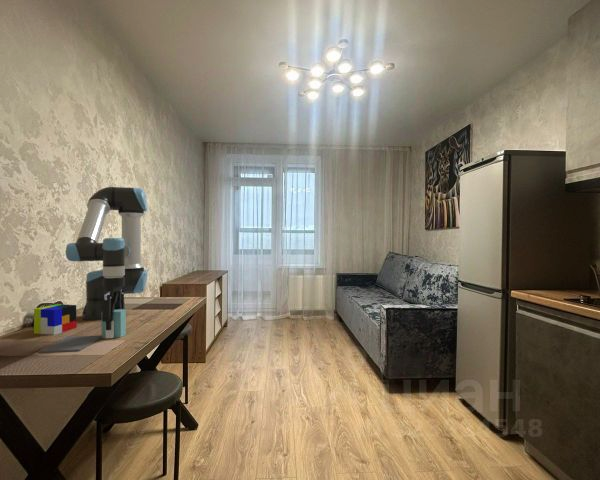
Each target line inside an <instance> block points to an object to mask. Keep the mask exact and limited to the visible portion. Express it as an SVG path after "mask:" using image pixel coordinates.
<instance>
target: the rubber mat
mask: <svg viewBox="0 0 600 480" xmlns="http://www.w3.org/2000/svg"><path fill="white" fill-rule="evenodd" d="M101 339H103V338H102V334H100V335H79V336H78V335H76V336H75V335H74V336H66V337H64V338H62V339H59V340H58V341H56V342H54V343H52V344H49V345H48V346H46V347H45V346H44V347H43V348H41V349H40V350H38V352H37V353H39V354H41V353H42V354H43V353H62V352H63V353H65V352H66V353H67V352H68V353H69V352H81V351H82V350H84V349H86V348H87V347H89V346H91V345H92V344H94V343H96V342H97V341H99V340H101Z"/></svg>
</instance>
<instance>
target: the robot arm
mask: <svg viewBox="0 0 600 480" xmlns="http://www.w3.org/2000/svg"><path fill="white" fill-rule="evenodd" d="M146 197H147V196H146V194H145V190H144V189H143V188H140V187H139V188H138V187H125V186H123V187H122V186H119V187H118V186H107V187H104V188H101V189H98V191H95V192H94V193H93V194H92V195H91V197H89V199H88V202H87V204H86V208H87V211H86V215H85V217H84V220H83V222H82V224H81V228H80V231H79V232H78V236H77V239H76V242H69V243H68V244H67V245H66V247H65V256H66V259H67V260H68V261H70V262H100V261H101V262H102V269H97V270H92V271H88V273H86V279H85V284H86V285H85V289H86V291H85V294H86V295H85V296H86V298H85V299H86V300H85V305H84V308H83V310H82V313H81V318H82V320H87V321H88V320H89V321H95V320H97V321H98V320H101V322H102V321H103V322H105V328H106V338H105V339H115V338H114V321H112V320H113V313H114V310H115V309H126V308H125V295H128V294H129V295H130V294H131V295H132V294H133V295H135V294H141V293H143V292H144V291H145V290H146V285H147V279H148V271H147V270H145V266H144V265H142V261H141V258H142V257H141V255H142V254H141V253H142V252H141V251H142V250H141V248H142V247H141V244H142V242H141V240H142V239H141V238H142V237H141V235H142V232H141V231H142V230H141V227H142V226H141V219H142V217H143V216H144V215H145V214H144V213H145V212H147V211H148V204H147V198H146ZM110 211H117V214H118V215H119V216H120V217H121V237H106V238H103V240H102V242H99V240H100V236H101V233H102V229H103V226H104V223H105V220H106V216H107V215H108V214H109V213H110Z"/></svg>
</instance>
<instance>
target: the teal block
mask: <svg viewBox="0 0 600 480" xmlns="http://www.w3.org/2000/svg"><path fill="white" fill-rule="evenodd" d="M126 313H127V311H126V308H125V309H115V310H114V313H113V320H112V321H114V338H113V339H115V338H122V337H124V336H125V335H126V334H127V331H126V330H127V324H126V323H127V319H126V318H127V317H126V316H127V314H126ZM101 335H102V338H101V339H107V338H106V328H105V322H103V321H102V320H101Z"/></svg>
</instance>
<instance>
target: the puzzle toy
mask: <svg viewBox="0 0 600 480" xmlns="http://www.w3.org/2000/svg"><path fill="white" fill-rule="evenodd" d="M74 329H77V304H65V303H62V304H59V303H57V304H52V305H47V306H43V307H42V306H41V307H37V308H33V333H34V334H37V335H38V334H39V335H41V334H42V335H51V336H52V335H57V334H61V333H64V332H68V331H70V330H74Z"/></svg>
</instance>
